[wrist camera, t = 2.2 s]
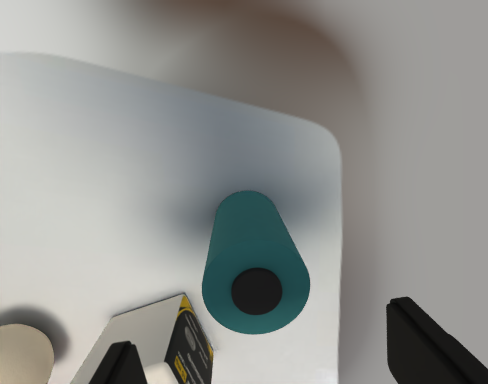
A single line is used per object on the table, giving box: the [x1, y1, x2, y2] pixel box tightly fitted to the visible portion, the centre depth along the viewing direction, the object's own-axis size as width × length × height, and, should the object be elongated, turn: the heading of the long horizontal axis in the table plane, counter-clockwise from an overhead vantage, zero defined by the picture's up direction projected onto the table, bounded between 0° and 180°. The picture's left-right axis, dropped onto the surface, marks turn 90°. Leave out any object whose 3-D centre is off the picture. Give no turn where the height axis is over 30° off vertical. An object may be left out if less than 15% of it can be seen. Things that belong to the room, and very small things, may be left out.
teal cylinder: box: [202, 191, 310, 334], centre depth 16 cm, size 5×5×9 cm
